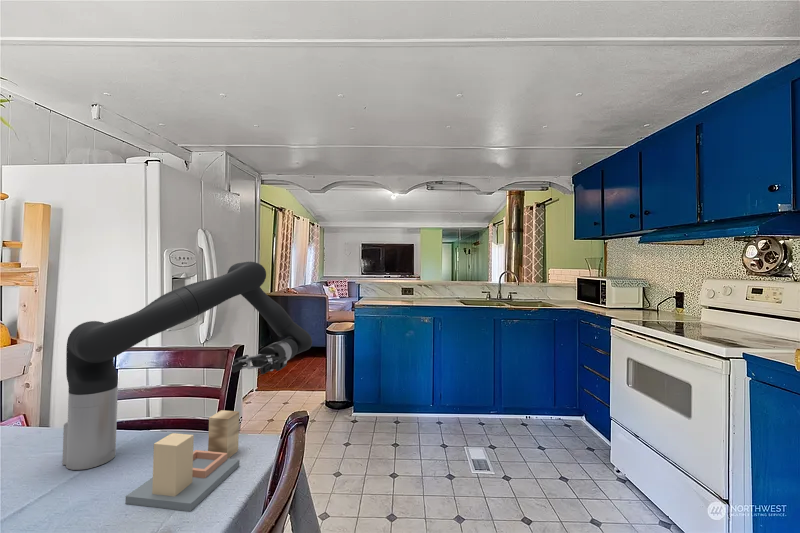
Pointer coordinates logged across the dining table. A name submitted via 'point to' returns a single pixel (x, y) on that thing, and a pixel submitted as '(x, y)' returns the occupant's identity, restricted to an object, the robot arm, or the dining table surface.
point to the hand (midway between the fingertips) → (247, 369)
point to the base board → (186, 494)
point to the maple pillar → (224, 432)
